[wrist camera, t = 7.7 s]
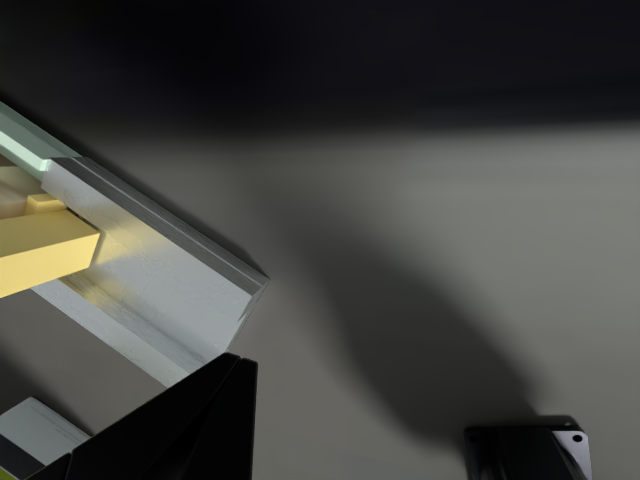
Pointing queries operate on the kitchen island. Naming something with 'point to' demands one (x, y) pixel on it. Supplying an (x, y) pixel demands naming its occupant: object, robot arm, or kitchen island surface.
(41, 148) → the tray
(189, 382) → the robot arm
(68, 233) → the tall yellow pillar
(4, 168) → the maple block
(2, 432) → the tea box
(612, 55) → the kitchen island surface
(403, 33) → the kitchen island surface
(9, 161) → the walnut block
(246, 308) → the slot rail
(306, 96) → the kitchen island surface
